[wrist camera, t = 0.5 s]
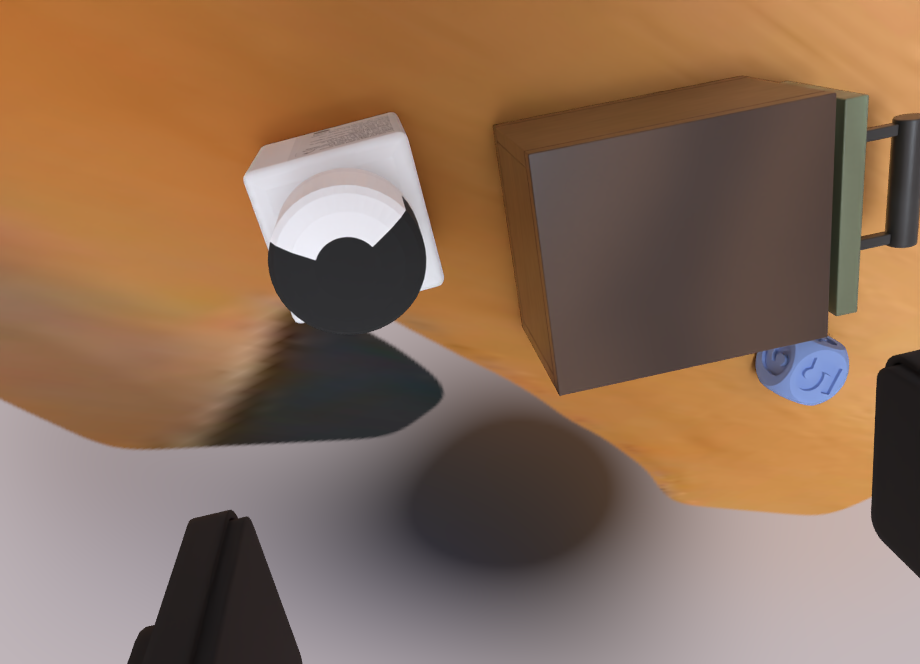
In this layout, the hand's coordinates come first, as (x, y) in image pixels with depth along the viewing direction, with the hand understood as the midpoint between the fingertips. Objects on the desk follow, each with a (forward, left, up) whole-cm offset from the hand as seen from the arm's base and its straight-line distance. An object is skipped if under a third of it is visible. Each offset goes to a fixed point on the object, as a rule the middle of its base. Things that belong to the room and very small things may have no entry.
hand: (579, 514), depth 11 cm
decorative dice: (+18, +22, -34) cm, 45 cm away
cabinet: (+6, +12, -34) cm, 37 cm away
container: (+2, -4, -34) cm, 34 cm away
